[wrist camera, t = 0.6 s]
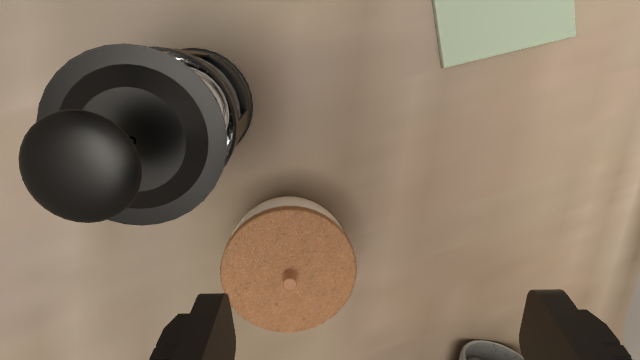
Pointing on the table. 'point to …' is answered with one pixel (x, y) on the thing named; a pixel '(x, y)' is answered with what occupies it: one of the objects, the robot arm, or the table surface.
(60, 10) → the table surface
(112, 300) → the table surface
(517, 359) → the ceramic mug
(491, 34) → the mat
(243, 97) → the french press
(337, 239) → the lidded jar
